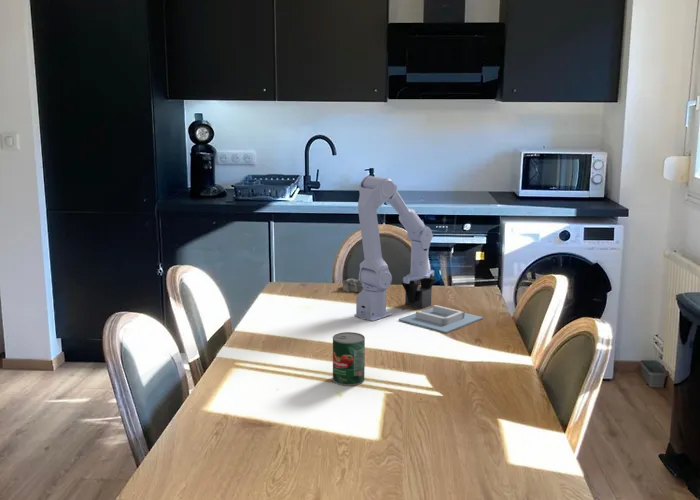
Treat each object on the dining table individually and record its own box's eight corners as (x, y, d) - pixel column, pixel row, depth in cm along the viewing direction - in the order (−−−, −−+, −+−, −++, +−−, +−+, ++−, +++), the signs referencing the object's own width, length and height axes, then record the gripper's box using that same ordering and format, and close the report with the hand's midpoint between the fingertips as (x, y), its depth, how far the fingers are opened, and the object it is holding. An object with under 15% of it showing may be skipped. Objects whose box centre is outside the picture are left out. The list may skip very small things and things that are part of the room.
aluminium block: (422, 309, 238) (422, 291, 237) (405, 304, 243) (405, 287, 241) (431, 306, 242) (431, 288, 240) (414, 301, 246) (414, 284, 245)
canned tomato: (368, 375, 181) (368, 333, 178) (359, 387, 173) (360, 343, 171) (337, 372, 183) (337, 330, 180) (328, 383, 175) (328, 340, 173)
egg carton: (340, 291, 259) (340, 280, 258) (346, 286, 266) (346, 275, 265) (369, 293, 256) (369, 282, 255) (374, 288, 263) (374, 277, 263)
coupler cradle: (446, 333, 213) (446, 325, 213) (398, 320, 225) (398, 312, 224) (482, 318, 228) (483, 311, 227) (436, 307, 239) (436, 300, 239)
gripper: (415, 266, 231) (414, 307, 234) (442, 259, 241) (440, 298, 244) (398, 262, 236) (397, 303, 238) (425, 256, 246) (423, 294, 249)
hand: (418, 300), depth 242 cm, fingers open, 7 cm apart
